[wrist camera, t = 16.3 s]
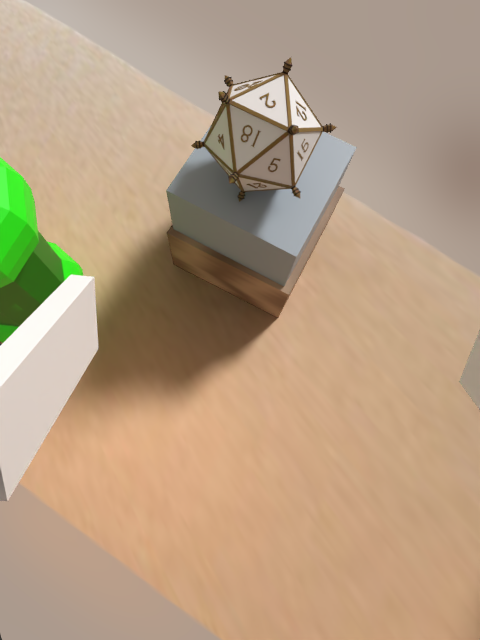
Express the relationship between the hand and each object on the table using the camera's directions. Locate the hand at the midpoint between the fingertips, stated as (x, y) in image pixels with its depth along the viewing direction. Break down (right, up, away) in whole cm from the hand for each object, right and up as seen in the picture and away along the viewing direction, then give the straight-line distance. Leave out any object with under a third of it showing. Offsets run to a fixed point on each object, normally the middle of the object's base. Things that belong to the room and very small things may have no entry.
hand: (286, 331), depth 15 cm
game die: (0, +12, +19) cm, 23 cm away
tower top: (0, +10, +25) cm, 27 cm away
